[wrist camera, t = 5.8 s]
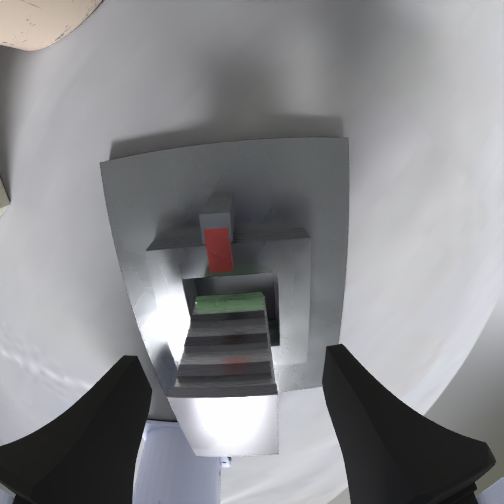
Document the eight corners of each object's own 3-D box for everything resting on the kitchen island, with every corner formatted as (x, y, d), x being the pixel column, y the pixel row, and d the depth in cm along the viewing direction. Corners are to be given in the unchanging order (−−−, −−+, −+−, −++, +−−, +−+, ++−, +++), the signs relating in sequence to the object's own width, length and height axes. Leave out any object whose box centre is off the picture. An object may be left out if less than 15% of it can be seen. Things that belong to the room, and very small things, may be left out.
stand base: (328, 375, 19) (345, 428, 14) (167, 385, 19) (154, 438, 14) (341, 137, 13) (388, 138, 8) (108, 160, 13) (53, 174, 8)
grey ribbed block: (267, 351, 14) (278, 453, 8) (208, 355, 14) (196, 456, 8) (263, 286, 12) (277, 394, 7) (195, 291, 12) (166, 397, 7)
